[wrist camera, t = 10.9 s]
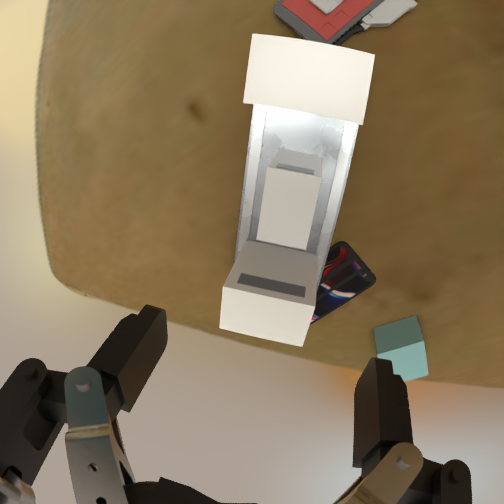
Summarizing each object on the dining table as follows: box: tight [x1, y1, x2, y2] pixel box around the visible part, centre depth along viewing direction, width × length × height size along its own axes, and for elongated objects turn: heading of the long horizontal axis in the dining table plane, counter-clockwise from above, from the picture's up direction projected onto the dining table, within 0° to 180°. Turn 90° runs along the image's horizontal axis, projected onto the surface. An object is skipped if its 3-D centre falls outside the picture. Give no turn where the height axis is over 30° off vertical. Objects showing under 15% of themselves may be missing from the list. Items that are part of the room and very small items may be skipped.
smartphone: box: [310, 241, 376, 325], centre depth 38 cm, size 7×1×15 cm
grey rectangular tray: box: [234, 104, 359, 293], centre depth 31 cm, size 10×25×2 cm, turn 172°
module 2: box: [219, 240, 318, 347], centre depth 32 cm, size 8×5×9 cm, turn 83°
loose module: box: [256, 148, 322, 250], centre depth 27 cm, size 4×6×8 cm
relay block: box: [374, 315, 428, 382], centre depth 37 cm, size 5×6×7 cm
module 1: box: [243, 34, 375, 125], centre depth 22 cm, size 8×5×9 cm, turn 83°
